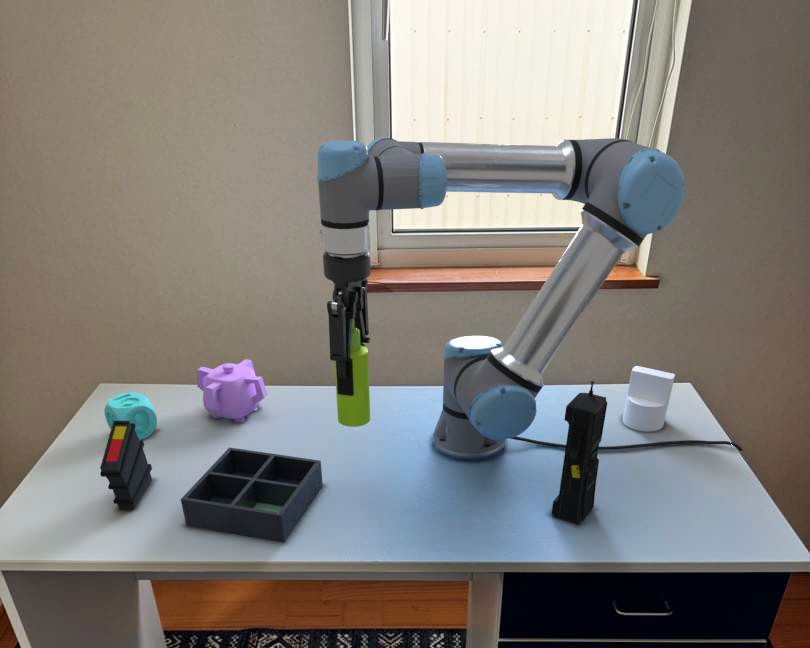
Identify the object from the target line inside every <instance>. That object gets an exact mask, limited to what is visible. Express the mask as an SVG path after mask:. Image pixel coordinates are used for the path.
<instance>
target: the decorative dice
mask: <svg viewBox="0 0 810 648" xmlns="http://www.w3.org/2000/svg"><path fill="white" fill-rule="evenodd" d="M103 413H104V418H105V421H106V423H107V426H108V427H109V430H110V431H111V428H112V425H113V422H114V421H130V423H134V424H135V425H136V427H135V432H136V433H137V436H138V438H139V440H140V441H143V440H145V439H148V438H149V437H150V436H151V435H152V434H153V433H154V431H155V430H156V429H157V425H158V417H157V414H156V411H155V408H154V406H153V404H152V402H151V401H150V400H149V398H148V397H147V396H146V395H144V394H142V393H140V392H135V391H134V392H133V391H132V392H124V393H119V394H116V395H114V396H112V397H110V399H109V400H108V401H107V403H106V404H105V406H104V411H103Z"/></svg>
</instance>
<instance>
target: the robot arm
mask: <svg viewBox="0 0 810 648" xmlns="http://www.w3.org/2000/svg"><path fill="white" fill-rule="evenodd" d="M316 177H317V186H318V197H319V198H318V199H319V209H320V210H319V213H320V227H319V229H318V233H319V234H321V244H322V250H323V251H324V253H323V254H322V264H323V275H324V277H325V279H327V280H329V281H331V282H332V283H333V291H332V300H333V301H332V300H328V301H327V302H326V310H327V316H328V336H329V359H330V361H333V362H334V361H336V372H337V391H338V394H340V395H348V396H353V395H354V386H353V362H352V359H350V349H351V332H352V320H353V319H354V323H355V327H356V328H357V329H359V330H360V345H361V346H364V347H366V345H365V344H370V341H371V338H370V336H369V335H370V329H369V328H370V327H369V326H370V325H369V306H368V304H369V303H368V284H369V280H368V278H369V277H370V276H371V254H370V252H369V250H370V249H371V231H370V230H371V227H370V211H388V210H389V211H390V210H391V211H392V210H411V209H412V210H413V209H420V210H423V209H427V208H433V207H435V208H436V207H439V206H441V205H442V204H443V203H444V200H445V198H446V195H447V193H493V194H494V193H499V194H500V193H502V194H551V195H552V196H553V198H554V199H555V200H557V201H572V202H576V203H581V204H583V206H582V207H581V209H580V218H581V226H580V228H579V229H578V230H577V232H576V234H575V235H574V237H573V239H572V240H571V241H570V243H569V244H568V246H567V248H566V250H565V251H564V252H563V254H562V256H560V258H559V260H558V262H557V263H556V265H555V266H554V268H553V269H552V271H551V273H550V274H549V276H548V277H547V279H546V281H545V282H544V284H543V285H542V287H541V288H540V290H539V291H538V293H537V295H536V296H535V297H534V299H533V301H532V302H531V304H530V305H529V307H528V308H527V309H526V311H525V313H524V314H523V316H522V318H521V319H520V321H519V322H518V324H517V325H516V327H515V329H514V330H513V332H512V333H511V335H510V336H509V338H508V339H507V341H506V342H505V344H503V342H502V341H501V340H500V339H498V338H495V337H492V336H485V335H468V336H467V335H466V336H460V337H456V338H453V339H451V340H449V341H448V342H447V343H446V344H445V347H444V354H443V357H442V358H443V382H442V385H443V388H442V410H441V413H440V414H439V415H440V416H439V418H438V421H437V423H436V425H435V428H434V431H433V437H432V439H433V440H432V443H433V447H434V448H435V450H436V451H437V452H439V453H440V454H442V455H443V456H445V457H449V458H451V459H455V460H460V461H482V460H486V459H487V460H488V459H490V458H493V457H495V456H497V455H498V454H500V453H501V452H502V451H503V449H504V447H505V442H506V440H508V439H510V440H515V441H520V442H524V443H529V444H530V443H531V444H535V445H540V446H546V447H554V448H562V449H566V444H562V443H554V442H547V441H540V440H535V439H532V438H531V439H530V438H527V437H526V438H525V437H521V436H520V435H521V434H524V432H525V431H527V430H528V429H529V428H530V426H531V425H532V424H533V422H534V420H535V418H536V415H537V400H536V397H538V395H539V393H540V391H541V390H542V389H543V387H544V385H545V379H544V371H545V369H546V368H547V367H548V365H549V364H550V362H551V361H552V359H553V358H554V356H555V355H556V353H557V352H558V351H559V349H560V348H561V346H562V345H563V343H564V342H565V341H566V339H567V337H568V336H569V334H570V333H571V332H572V331H573V328H574V327H575V325H576V324H577V323H578V322H579V320H580V318H581V317H582V315H583V314H584V312H585V311H586V310H587V308H588V306H589V305H590V303H591V302H592V300H593V299H594V298H595V297H596V295H597V294H598V292H599V290H600V288H601V287H602V286H603V284H604V283H605V281H606V280H607V278H609V275H610V274H611V272H612V271H613V270H614V268H615V267H616V265H617V264H618V262H619V261H620V259H621V258H622V256H623V255H624V254H625V253H627V252H630V251H634V250H638V249H639V247H640V246H641V244H642V243H643V241H644V240H645V238H646V237H647V236H648V235H651V234H656V233H657V232H658V231H663V230H664V229H665V228H667V227H668V226H669V225H670V224H671V223H672V222H673V221H674V220H675V218H676V217H677V215H678V214H679V212H680V209H681V207H682V205H683V202H684V198H685V192H686V187H685V175H684V173H683V169H682V168H681V165H679V163H678V162H677V160H675V159H674V158H673V157H672V156H670V155H668V154H667V153H665V152H663V151H662V150H660V149H658V148H654V147H649V146H645V145H642V144H639V143H636V142H634V141H632V140H629V139H626V138H625V139H624V138H620V137H617V138H616V137H615V138H614V137H612V138H611V137H610V138H588V139H587V138H586V139H585V138H584V139H562V140H560V141H559V142H558V143H557V144H556V145H538V144H502V143H500V144H499V143H474V142H473V143H472V142H471V143H470V142H468V143H467V142H438V141H437V142H436V141H435V142H434V141H405V140H404V141H401V140H397V139H394V138H393V137H383V136H382V137H378V138H375V139H373V140H372V141H371V142H370V143H368V145H366V144H365V142H362V141H359V140H358V141H357V140H346V139H345V140H344V139H343V140H341V139H340V140H332V141H326V142H324V143H322V144H321V145H320V146H319V147H318V150H317V176H316ZM345 312H348V313H350V314H346V313H345ZM368 336H369V337H368ZM730 442H731V443H730ZM689 444H690V445H693V444H696V445H726V446H727V445H728V446H732V445H733V446H732V447H734V448H736V449H737V450H738V451H739V452H743V451H744V449H743V448H742V447H741V446H740V445H739V444H738V443H736V442H733V441H729V440H701V439H699V440H698V439H696V440H695V439H693V440H692V439H691V440H689V439H688V440H687V439H686V440H685V439H684V440H669V441H667V440H666V441H657V442H648V443H647V442H646V443H637V444H635V443H634V444H627V445H612V446H611V445H610V446H608V445H607V446H599V448H598V451H611V450H612V451H613V450H627V449H638V448H648V447H649V448H650V447H658V446H666V445H667V446H668V445H669V446H670V445H689ZM731 444H732V445H731Z"/></svg>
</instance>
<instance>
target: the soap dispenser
mask: <svg viewBox="0 0 810 648" xmlns="http://www.w3.org/2000/svg"><path fill="white" fill-rule="evenodd" d="M345 313H346V314H350V313H348V312H345ZM350 359H352V362H353V386H354V395H353V396H348V395H340V394H338V391H337V372H336V361H333V362H334V378H335V379H334V381H335V391H336V392H335V393H336V394H335V395H336V410H337V421H338V423H339V424H340V425H342V426H345V427H350V428H356V427H361V426H365V425H367V424H368V423H369V422H370V421H371V400H370V399H371V397H370V396H371V395H370V371H369V370H370V368H369V350H368V348H367V347H366V346H365V347H364V346H361V345H360V330H359V329H357V328H356V327H355V323H354V319H353V320H352V332H351V349H350Z"/></svg>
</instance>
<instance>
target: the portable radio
mask: <svg viewBox="0 0 810 648" xmlns="http://www.w3.org/2000/svg"><path fill="white" fill-rule="evenodd" d="M594 384H595V381H594V380H590V390H588V392H578V393H577V395H576V396H574V397H573V399H572V400H570V402H569V403H568V404H567V405H566V407H565V411H564V412H565V413H564V421H565V422H567V424H568V429H567V435H566V441H565V442H566V443H565V445H566V448H564V449H565V450H564V456H563V457H564V458H563V464H562V470H561V476H560V477H561V478H560V485H559V492H558V495H557V496H556V497H555V499H553V501H552V507H551V515H552V516H554V517H556V518H559V519H561V520H564V521H568V522H570V523H574V524H577V525H578V524H580V523H582V522H583V521H584V520H585V519H586V518H587V516H589V514H590V513H591V511H592V510H593V508H594V507H595V498H596V497H595V496H596V495H595V494H596V486H597V479H598V471H599V463H600V459H599V458H598V455H599V454H598V453H599V450H598V448H599V447H600V443H601V442H602V438H603V432H604V426H605V420H606V413H607V408H608V401H607V397H606V396H603V395H599V394H595V393H594V391H593V390H594V389H593V388H594Z"/></svg>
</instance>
